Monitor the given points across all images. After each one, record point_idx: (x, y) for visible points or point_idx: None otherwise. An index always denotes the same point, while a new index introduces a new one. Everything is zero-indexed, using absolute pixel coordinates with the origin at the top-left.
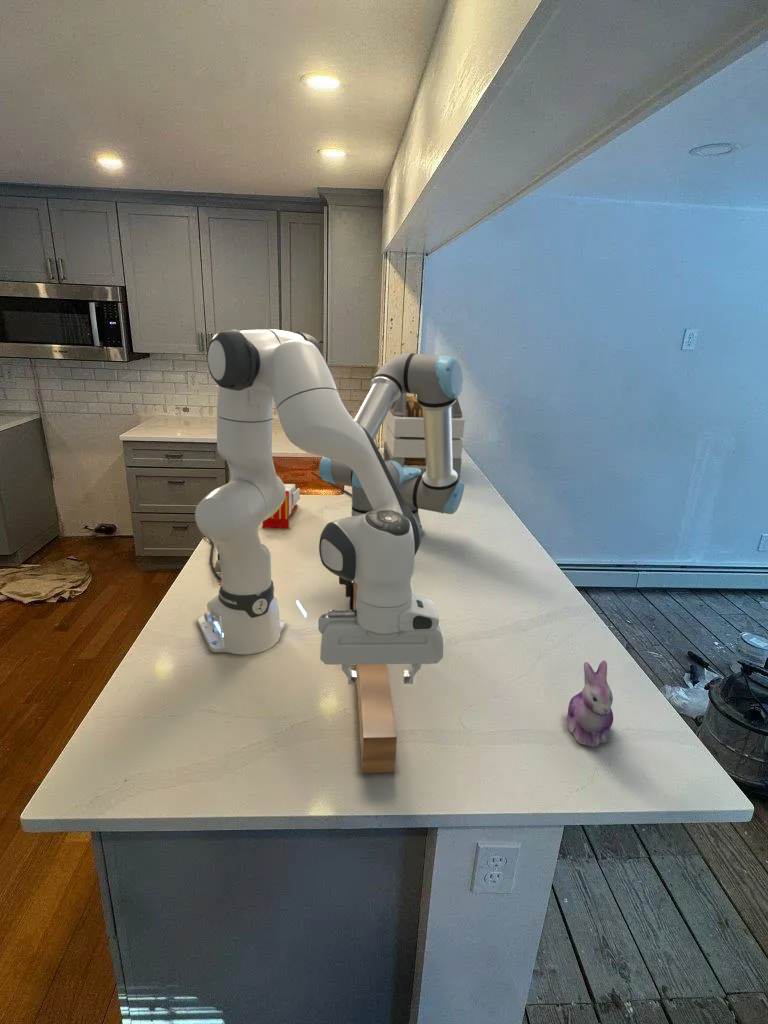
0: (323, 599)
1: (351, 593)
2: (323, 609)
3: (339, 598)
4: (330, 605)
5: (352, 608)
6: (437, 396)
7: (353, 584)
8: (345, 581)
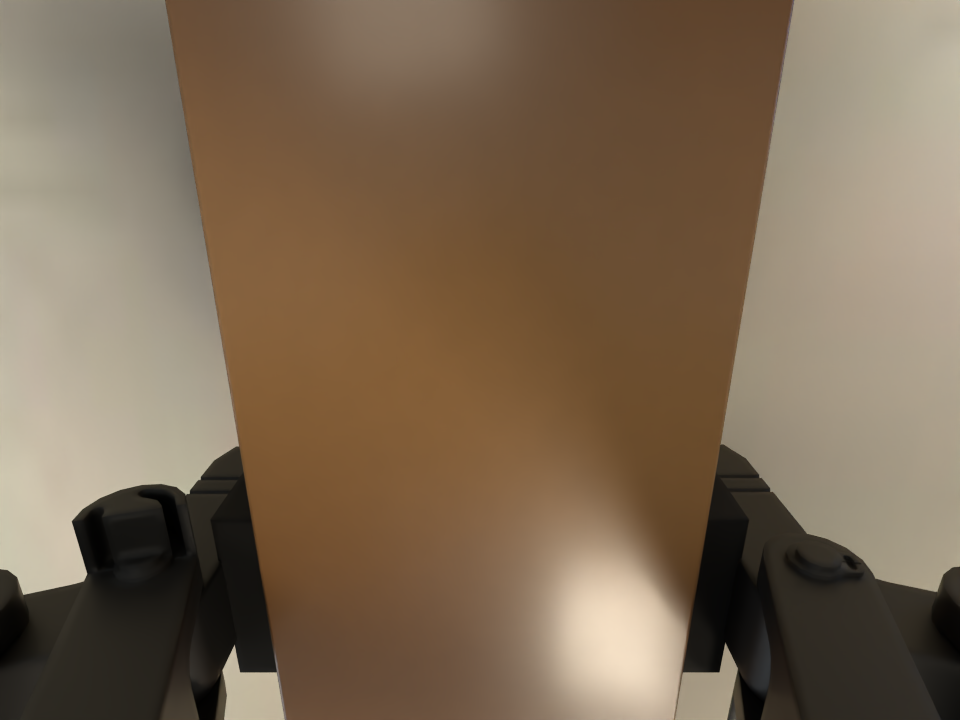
0: None
1: None
2: (898, 384)
3: None
4: (808, 457)
5: None
6: None
7: (695, 590)
8: (906, 640)
